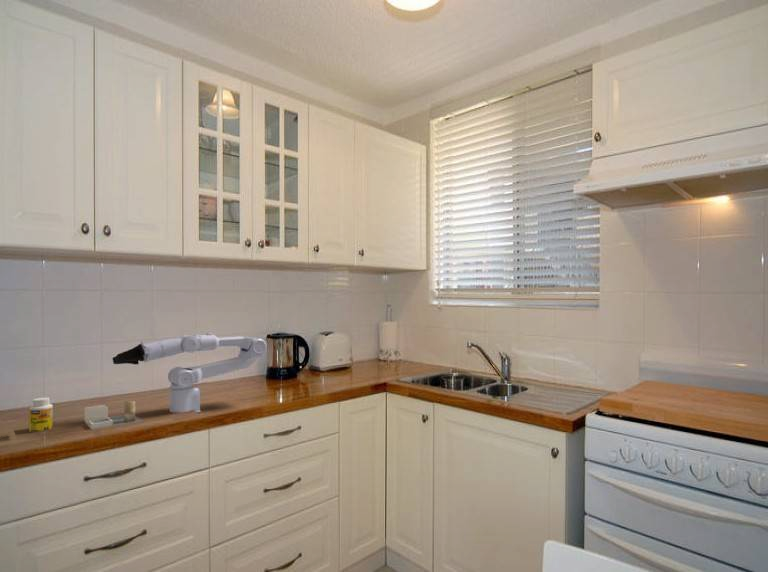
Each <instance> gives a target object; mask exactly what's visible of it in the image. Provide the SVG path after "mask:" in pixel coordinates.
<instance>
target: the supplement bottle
mask: <svg viewBox="0 0 768 572" xmlns="http://www.w3.org/2000/svg"><path fill="white" fill-rule="evenodd" d="M50 399H51V398H50V397H38V398H33V401H32V405H31V406H30V407H29V413H28V414H29V420H28V422H29V423H28V425H29V427H28V431H29V432H30V433H37V432H45V431H49V430H52V429H53V414H54V413H53V412H54V411H53V409H54V405H53V404H52V403H50V402H51V401H50Z"/></svg>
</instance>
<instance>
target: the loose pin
mask: <svg viewBox="0 0 768 572" xmlns="http://www.w3.org/2000/svg"><path fill="white" fill-rule="evenodd" d="M123 413H124V414H123V415H124V422H133V421H135V416H136V401H135V400H131V401H130V400H128V401H124V412H123Z"/></svg>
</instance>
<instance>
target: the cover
mask: <svg viewBox="0 0 768 572" xmlns="http://www.w3.org/2000/svg"><path fill="white" fill-rule="evenodd" d="M106 417H109V407H108V406H107V405H106V404H99V405H93V406H85V407H84V421H85V422H86V423H87V424H88V420H93V419H100V418H106Z"/></svg>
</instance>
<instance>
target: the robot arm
mask: <svg viewBox="0 0 768 572" xmlns="http://www.w3.org/2000/svg"><path fill="white" fill-rule="evenodd" d="M218 347H238V348H240V349H239V353H238V354H237V355H238V356H236V357H231V358H227V359H223V360H218V361H214V362H210V363H205V364H201V365H196V366H186V367H182V366H175V367H173V368H172V369H170V370H169V372H168V375H167V379H168V382H169V384H170V386H169V412H170V413H174V414H175V413H177V414H178V413H185V412H190V411H193V412H196V413H198V412H199V413H201V391H200V388H199V386H197V385H193V384H197V383H199V382H200V381H202V380H204V379H208V378H213V377H216V376H220V375H221V376H222V375H224V374H228V373H232V372H236V371H240V370H245V369H247V368H249V367H250V366H252V365H253V364H254V363H255V362H256V361H257V360H258V359H260V358H261V357H264V354H265V352H266V350H267V342H266V341H265V340H264V339H263V338H256V337H252V336H243V335H241V336H240V335H239V336H238V335H236V336H227V337H226V336H224V337H217V336H216V335H215V334H212V333H210V332H207V333H206V334H197V333H193V334H192V335H188V334H186V335H184V334H181V335H180V336H178V337H175V338H169V339H165V340H160V341H155V342H154V341H153V342H150V343H145V341H144V340H143V341H141V342H140V343H139V344H138V345H136V346H135V347H133V348H130V349H128V350H125V351H123V352H120V353H118V354H116V356H114V357H112V358H111V359H112V362H113V365H121V364H122V365H123V364H126V365H127V364H129V365H135V366H136V365H139V363H140V362H144V363H148V362H151V361H155V360H160V359H162V358H166V357H172V356H175V355H179V354H183V353H184V352H185V353H191V354H192V353H195V352H206V351H215V350H217V348H218Z"/></svg>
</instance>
